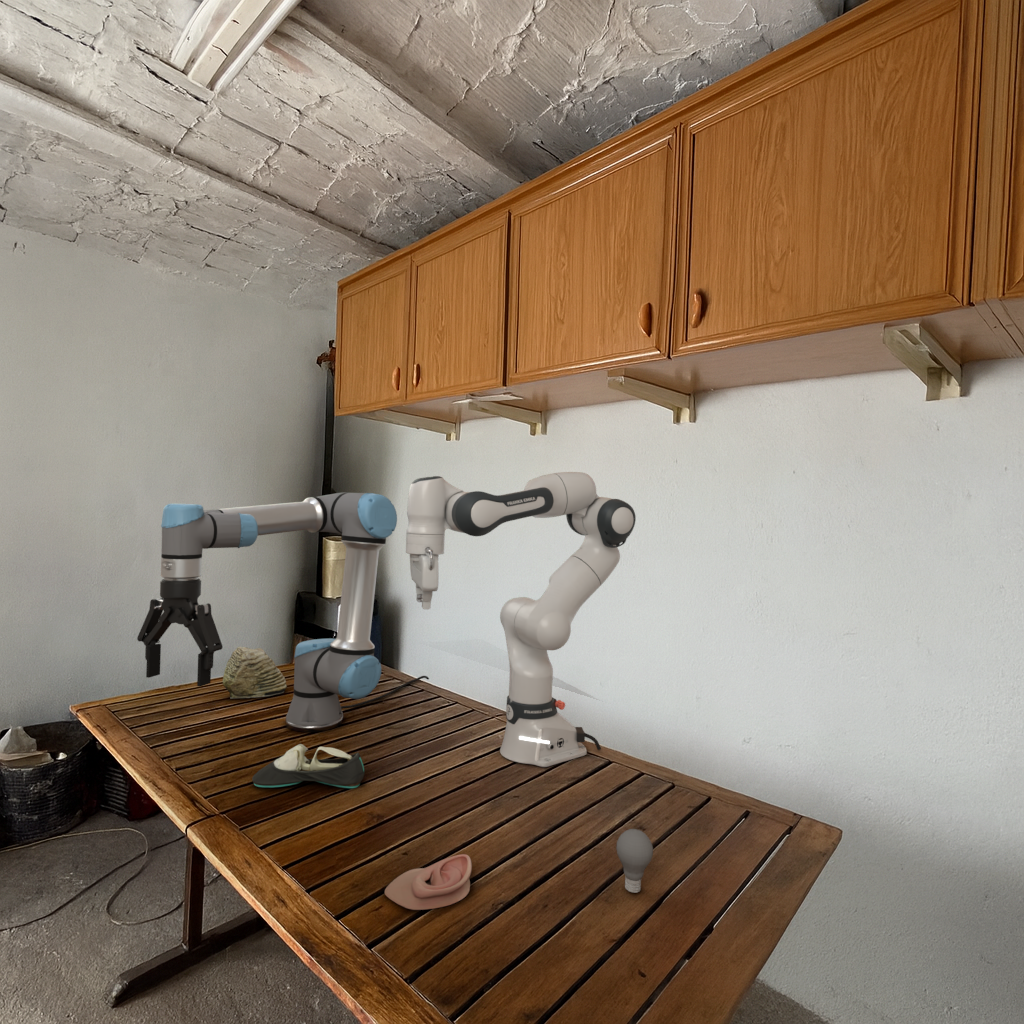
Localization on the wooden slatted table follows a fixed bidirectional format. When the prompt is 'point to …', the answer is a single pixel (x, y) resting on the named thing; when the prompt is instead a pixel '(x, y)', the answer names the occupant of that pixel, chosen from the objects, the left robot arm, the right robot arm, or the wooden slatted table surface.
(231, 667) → the fossil
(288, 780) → the ballet flat
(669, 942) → the wooden slatted table surface
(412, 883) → the anatomical model
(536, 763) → the right robot arm
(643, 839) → the light bulb
